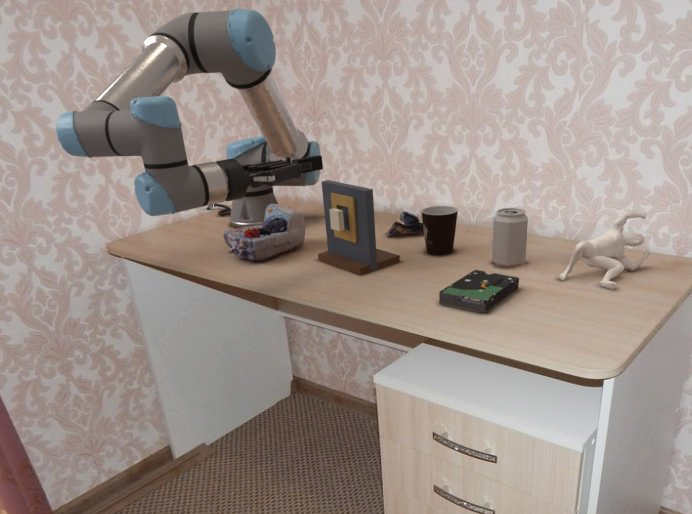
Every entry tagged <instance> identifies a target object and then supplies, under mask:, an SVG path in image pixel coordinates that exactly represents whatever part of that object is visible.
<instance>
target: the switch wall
mask: <svg viewBox="0 0 692 514" xmlns="http://www.w3.org/2000/svg"><path fill="white" fill-rule="evenodd" d="M321 189H322V191H321V192H322V202H323V212H324V213H323V214H324V221H325V222H324V223H325V232H326V243H327V250H325V251H322V252H319V253H317V258H318V261H320V262H323V263H325V264H329V265H331V266H334V267H336V268H340V269H343V270H346V271H347V272H350V273H352V274H353V273H354V274H355V275H359V276H363V275H365V274H368V273H371V272H374V271H378V270H379V269H382V268H386V267H389V266H392V265H396V264H398V263H400V262H401V255H399V254H396V253H393V252H390V251H386V250H383V249H380V248H377V239H376V238H377V237H376V220H375V205H374V204H375V203H374V189H373V188H368V187H364V186H360V185H353V184H349V183H344V182H340V181H335V180H329V179H326V180H322V181H321ZM333 208H335V209H339V210H343V218H344V230H342V231H337V230H334V229H331V222H330V211H329V209H333Z"/></svg>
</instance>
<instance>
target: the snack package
mask: <svg viewBox="0 0 692 514" xmlns="http://www.w3.org/2000/svg"><path fill="white" fill-rule="evenodd" d="M399 221H400V222H399ZM399 221H395V222H393V224H392V225H391V227H390V228H389V229H388V230H387V232H385V235H386V237H389V236H390V235H411V234H416V233H419V232H421V231H424V228H423V222H420V219H419V217H418V216H417V215H415V214H413V213H409V211H405V210H402V211H401V213H400V214H399Z"/></svg>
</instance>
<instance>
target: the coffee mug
mask: <svg viewBox="0 0 692 514" xmlns="http://www.w3.org/2000/svg"><path fill="white" fill-rule="evenodd" d="M420 213H421V221H422V223H423V228H424V230H423V237H424V242H425V249H426V254H427V255H430V256H435V257H437V256H438V257H443V256H449V255H451V254H452V253H454V245H455V237H456V228H457V222H458V215H459V214H458V213H459V209H458V208H457V207H454V206H451V205H434V206H433V205H432V206H427V207H424V208H422V209H421V210H420Z"/></svg>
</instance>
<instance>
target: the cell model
mask: <svg viewBox="0 0 692 514" xmlns="http://www.w3.org/2000/svg"><path fill="white" fill-rule="evenodd" d="M305 236H306V221H305V214H304V211H301V210H299V209H296V208H293V207H290V206H287V205H283V204H279V203H278V204H270V205H268V206H267V208H266V211H265V220H264V223H263V224H262V225H257V226H249V227H242V228H231V229H226V230H224V232H223V233H222V238H223V241H224V243H225V244H226V245H227V246H228V248H229V249H230V250H228V251H227V254H228V255H231V254H234V255H235V256H236V257H238V258H239V259H241V260H245V261H246V260H247V261H251V262H260V261H266V260H269V259H272V258H274V257H275V256H277V255H279V254H281V253H286V252H287V251H289V252H290V251H292V250H293V249H294V248H296V247H299V246H302V245H304V243H305Z"/></svg>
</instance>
